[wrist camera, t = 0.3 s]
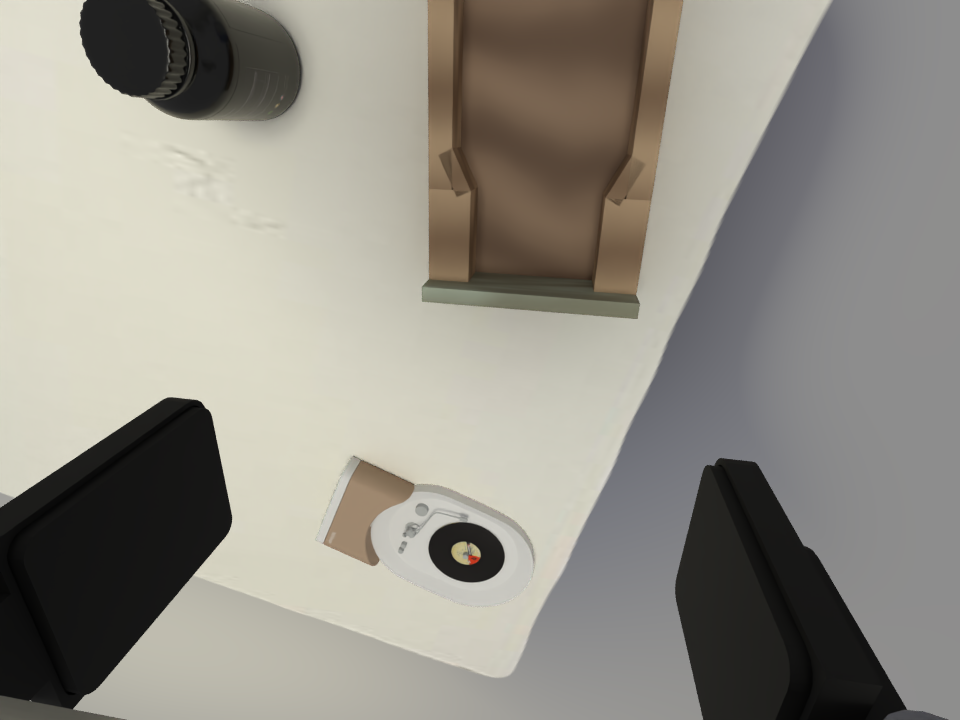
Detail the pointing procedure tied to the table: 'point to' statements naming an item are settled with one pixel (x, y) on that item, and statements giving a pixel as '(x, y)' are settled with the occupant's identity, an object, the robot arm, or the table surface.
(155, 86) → the supplement bottle
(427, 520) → the record player
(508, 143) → the wooden channel
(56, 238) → the table surface
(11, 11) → the table surface
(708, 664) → the robot arm
